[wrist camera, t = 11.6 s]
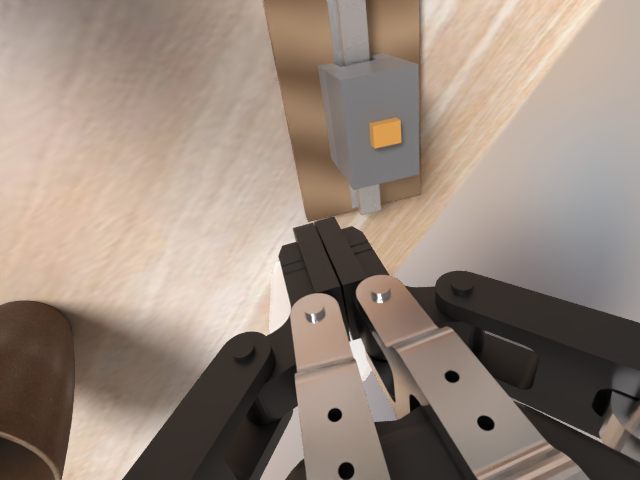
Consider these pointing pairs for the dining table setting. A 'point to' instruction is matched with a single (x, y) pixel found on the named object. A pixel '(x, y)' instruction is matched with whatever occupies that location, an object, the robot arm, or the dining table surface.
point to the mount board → (306, 97)
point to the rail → (348, 50)
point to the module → (372, 119)
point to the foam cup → (282, 310)
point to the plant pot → (35, 390)
